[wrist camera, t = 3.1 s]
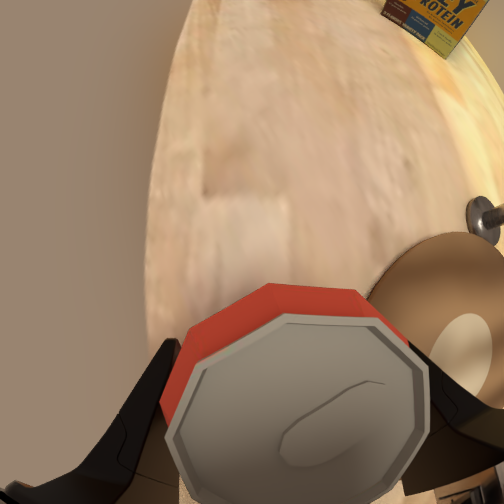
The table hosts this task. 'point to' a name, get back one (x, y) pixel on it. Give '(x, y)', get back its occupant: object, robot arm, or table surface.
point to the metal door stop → (485, 219)
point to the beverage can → (295, 401)
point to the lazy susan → (451, 309)
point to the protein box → (435, 20)
